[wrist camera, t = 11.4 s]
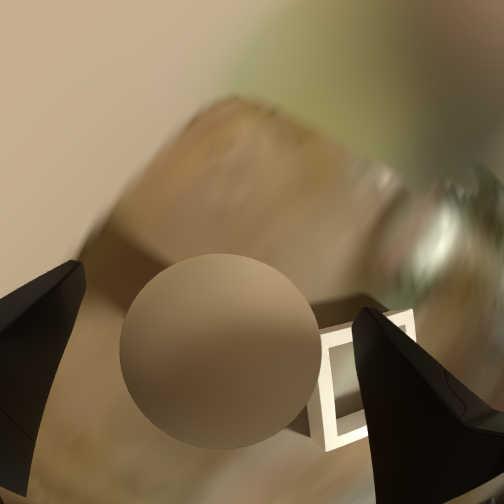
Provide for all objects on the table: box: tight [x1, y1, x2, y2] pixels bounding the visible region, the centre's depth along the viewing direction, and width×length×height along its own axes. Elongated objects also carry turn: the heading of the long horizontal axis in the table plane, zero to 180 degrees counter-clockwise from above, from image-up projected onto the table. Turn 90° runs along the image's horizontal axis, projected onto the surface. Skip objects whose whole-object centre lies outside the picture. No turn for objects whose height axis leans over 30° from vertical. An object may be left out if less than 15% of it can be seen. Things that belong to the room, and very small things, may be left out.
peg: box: [120, 254, 322, 449], centre depth 13 cm, size 5×5×13 cm
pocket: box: [307, 309, 416, 452], centre depth 19 cm, size 9×9×3 cm
